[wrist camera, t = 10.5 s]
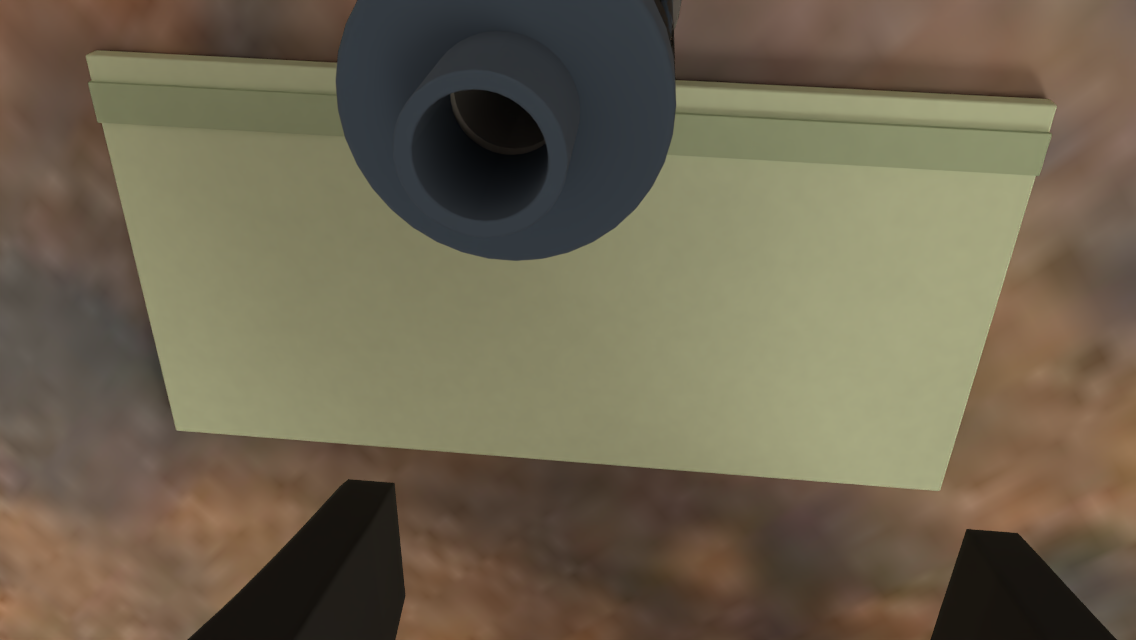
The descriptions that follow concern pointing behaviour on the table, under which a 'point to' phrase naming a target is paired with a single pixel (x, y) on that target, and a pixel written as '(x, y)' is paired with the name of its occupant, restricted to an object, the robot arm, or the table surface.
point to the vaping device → (509, 115)
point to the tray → (581, 279)
